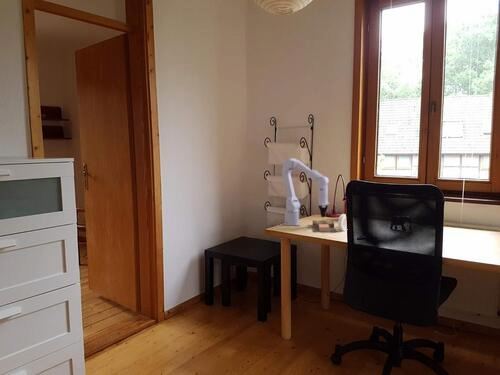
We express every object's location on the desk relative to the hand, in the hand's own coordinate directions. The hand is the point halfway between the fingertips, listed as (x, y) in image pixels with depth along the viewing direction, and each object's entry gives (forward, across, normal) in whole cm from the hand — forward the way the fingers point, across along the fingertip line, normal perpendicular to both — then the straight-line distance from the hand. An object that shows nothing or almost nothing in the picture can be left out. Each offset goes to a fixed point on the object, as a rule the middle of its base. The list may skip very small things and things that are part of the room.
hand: (323, 217), depth 247 cm
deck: (+7, +3, 0) cm, 7 cm away
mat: (+7, -9, 0) cm, 11 cm away
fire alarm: (+7, +22, -25) cm, 34 cm away
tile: (+6, -8, 0) cm, 10 cm away
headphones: (+7, -4, -15) cm, 17 cm away
